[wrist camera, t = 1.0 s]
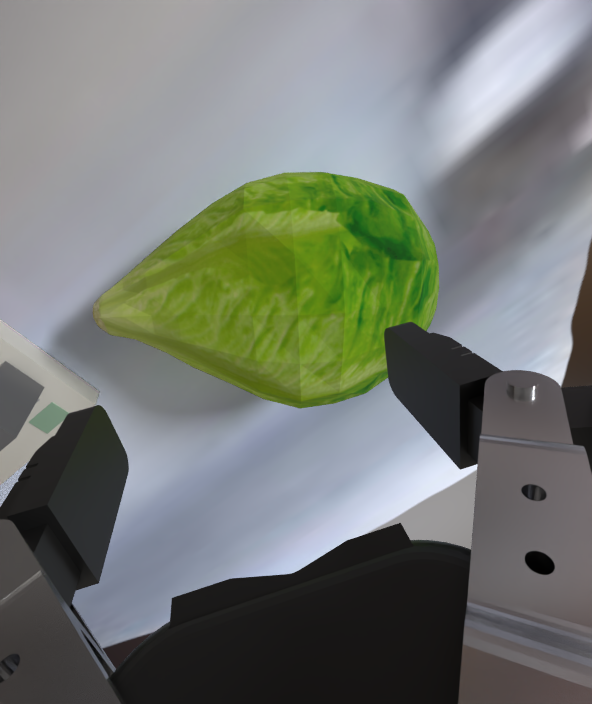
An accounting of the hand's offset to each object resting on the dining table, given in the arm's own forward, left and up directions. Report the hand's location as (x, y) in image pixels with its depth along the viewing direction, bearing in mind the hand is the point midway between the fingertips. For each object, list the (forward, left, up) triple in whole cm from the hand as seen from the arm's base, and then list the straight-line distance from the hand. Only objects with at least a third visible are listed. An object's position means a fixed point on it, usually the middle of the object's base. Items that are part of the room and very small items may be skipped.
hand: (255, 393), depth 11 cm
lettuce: (+4, +2, -22) cm, 22 cm away
